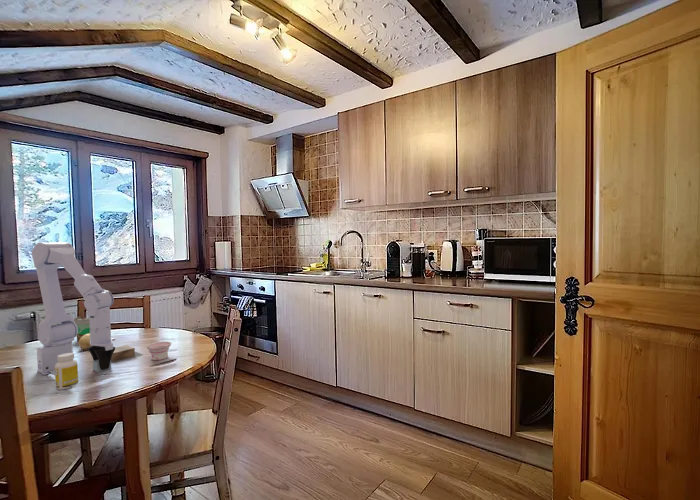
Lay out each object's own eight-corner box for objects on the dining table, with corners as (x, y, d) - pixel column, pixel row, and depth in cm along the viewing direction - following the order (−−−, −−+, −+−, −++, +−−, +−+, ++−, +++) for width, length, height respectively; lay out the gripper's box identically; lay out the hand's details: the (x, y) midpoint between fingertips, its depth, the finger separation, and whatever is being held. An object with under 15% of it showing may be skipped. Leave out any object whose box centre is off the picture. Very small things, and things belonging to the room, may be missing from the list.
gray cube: (97, 375, 119) (97, 363, 119) (93, 372, 121) (92, 360, 121) (111, 371, 122) (110, 359, 122) (106, 369, 124) (106, 357, 124)
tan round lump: (100, 349, 147) (99, 332, 147) (76, 353, 144) (75, 335, 144) (103, 344, 155) (103, 328, 154) (81, 347, 151) (80, 331, 151)
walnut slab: (113, 361, 129) (113, 353, 129) (106, 357, 133) (105, 349, 133) (134, 355, 135) (134, 348, 135) (126, 352, 139) (126, 345, 139)
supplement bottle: (82, 382, 112) (81, 351, 112) (69, 390, 107) (68, 357, 107) (64, 383, 112) (63, 352, 112) (51, 390, 107) (49, 358, 107)
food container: (66, 341, 161) (65, 319, 161) (80, 337, 167) (79, 316, 167) (87, 343, 158) (86, 320, 157) (100, 339, 164) (99, 317, 163)
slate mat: (107, 367, 126) (107, 364, 126) (96, 361, 132) (96, 359, 132) (143, 357, 136) (143, 354, 136) (132, 352, 142) (132, 350, 142)
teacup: (184, 357, 136) (184, 340, 135) (159, 368, 124) (159, 350, 124) (158, 355, 139) (158, 339, 139) (132, 366, 127) (131, 348, 127)
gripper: (122, 328, 120) (124, 368, 120) (105, 322, 129) (107, 360, 129) (98, 332, 114) (100, 375, 115) (81, 326, 123) (83, 366, 123)
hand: (102, 367), depth 121 cm, fingers closed on gray cube, 4 cm apart
